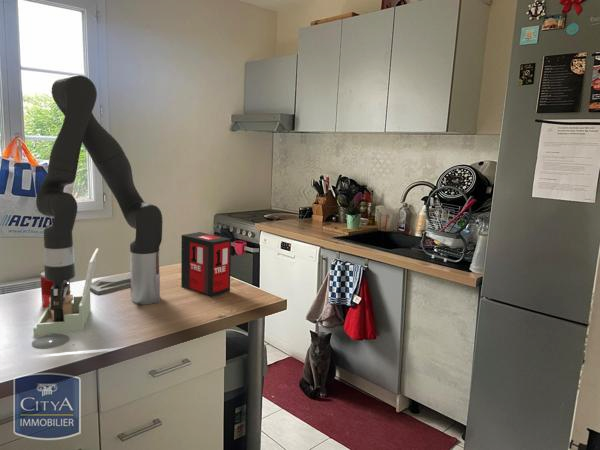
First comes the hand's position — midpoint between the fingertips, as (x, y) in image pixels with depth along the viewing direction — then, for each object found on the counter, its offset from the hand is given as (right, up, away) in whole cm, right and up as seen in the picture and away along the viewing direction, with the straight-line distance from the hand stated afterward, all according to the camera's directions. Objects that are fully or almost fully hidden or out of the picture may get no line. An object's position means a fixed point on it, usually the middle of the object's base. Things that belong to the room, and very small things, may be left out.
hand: (61, 316), depth 126 cm
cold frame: (0, -2, +1) cm, 2 cm away
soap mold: (+1, +3, +36) cm, 36 cm away
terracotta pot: (0, -2, 0) cm, 2 cm away
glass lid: (+8, +12, 0) cm, 14 cm away
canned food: (-9, 0, +14) cm, 17 cm away
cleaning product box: (+34, +2, +37) cm, 50 cm away
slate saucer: (+3, -5, -12) cm, 13 cm away
